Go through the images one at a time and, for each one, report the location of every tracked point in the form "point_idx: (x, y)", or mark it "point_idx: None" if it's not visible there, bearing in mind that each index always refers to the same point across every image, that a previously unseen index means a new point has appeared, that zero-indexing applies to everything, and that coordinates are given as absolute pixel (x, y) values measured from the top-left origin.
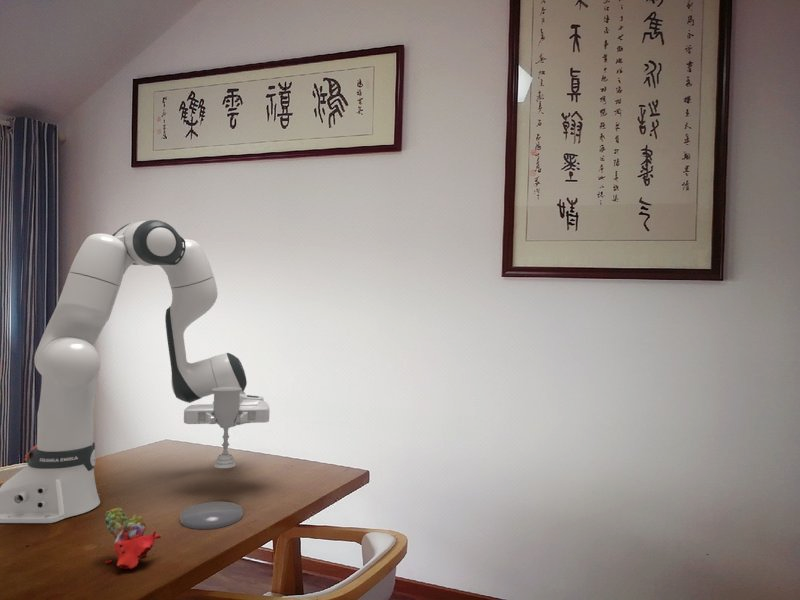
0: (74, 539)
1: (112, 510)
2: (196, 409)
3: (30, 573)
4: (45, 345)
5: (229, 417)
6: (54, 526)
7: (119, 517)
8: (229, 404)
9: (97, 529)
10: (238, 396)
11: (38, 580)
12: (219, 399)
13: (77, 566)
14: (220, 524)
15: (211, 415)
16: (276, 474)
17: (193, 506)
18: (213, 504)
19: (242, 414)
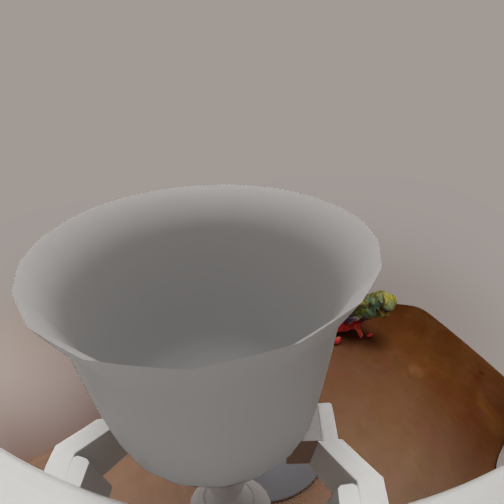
0: (448, 387)
1: (386, 292)
2: (471, 486)
3: (429, 327)
4: None
5: (201, 364)
6: (498, 418)
7: (372, 292)
8: (198, 286)
9: (442, 415)
10: (114, 266)
11: (412, 318)
12: (270, 259)
13: (397, 334)
14: None
15: (326, 433)
16: None
17: (307, 479)
18: (260, 484)
19: (101, 424)
